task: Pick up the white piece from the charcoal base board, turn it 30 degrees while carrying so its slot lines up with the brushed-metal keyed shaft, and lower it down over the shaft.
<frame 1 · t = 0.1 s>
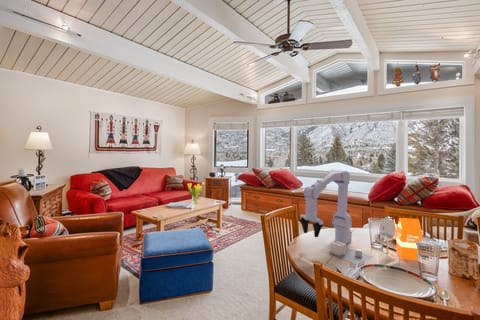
hand: (310, 234, 127), 10 cm above the table, tool pointing down, fingers open, 7 cm apart
white piece: (338, 252, 125), point 1 cm above the table, touching shaft base
shaft base: (349, 256, 123), on the table
wineglass: (387, 256, 124), on the table
orange juice: (408, 256, 124), on the table
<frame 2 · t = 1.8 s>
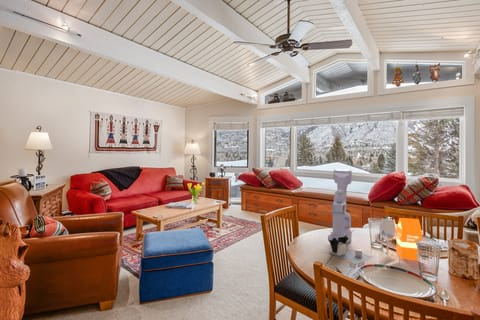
hand: (338, 251, 125), 2 cm above the table, tool pointing down, fingers closed on white piece, 5 cm apart
white piece: (338, 252, 125), point 1 cm above the table, touching gripper, shaft base
everything else where it was.
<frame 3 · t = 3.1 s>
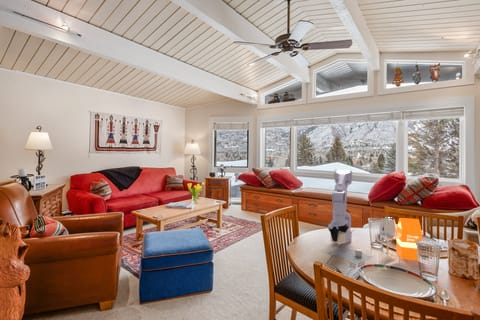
hand: (338, 240, 125), 8 cm above the table, tool pointing down, fingers closed on white piece, 5 cm apart
white piece: (338, 241, 125), point 7 cm above the table, touching gripper
everything else where it was.
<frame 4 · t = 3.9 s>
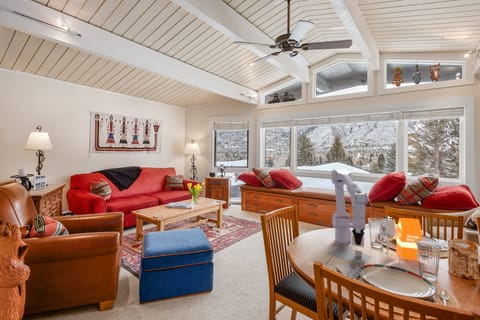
hand: (358, 242, 121), 8 cm above the table, tool pointing down, fingers closed on white piece, 5 cm apart
white piece: (357, 244, 121), point 7 cm above the table, touching gripper
everything else where it was.
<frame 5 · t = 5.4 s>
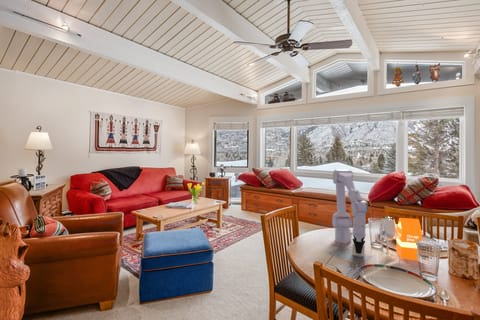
hand: (358, 251, 121), 4 cm above the table, tool pointing down, fingers closed on white piece, 5 cm apart
white piece: (358, 253, 121), point 3 cm above the table, touching gripper
everything else where it was.
when the fingers open (3 cm above the table, at t = 6.2 s): white piece stays where it is, resting on shaft base.
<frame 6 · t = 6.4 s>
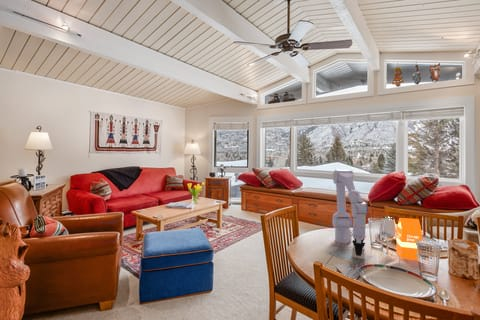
hand: (358, 252, 121), 3 cm above the table, tool pointing down, fingers open, 7 cm apart
white piece: (358, 255, 121), point 1 cm above the table, touching shaft base
everything else where it was.
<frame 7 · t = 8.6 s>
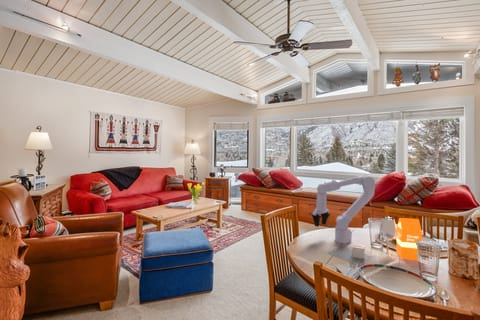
hand: (320, 225, 146), 9 cm above the table, tool pointing down, fingers open, 7 cm apart
nothing on the table moved.
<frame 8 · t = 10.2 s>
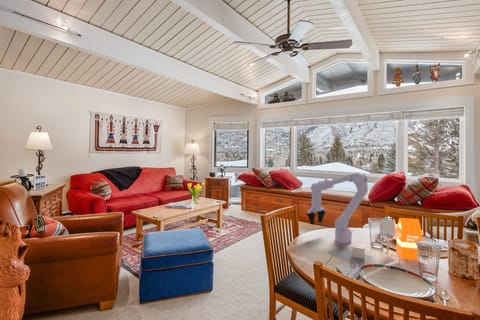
hand: (316, 223, 151), 9 cm above the table, tool pointing down, fingers open, 7 cm apart
nothing on the table moved.
at the end: white piece 0.1 cm from the target spot on the shaft base, point 1.2 cm above the shaft base's base; white piece tilted 0°; the gripper is holding nothing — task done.
